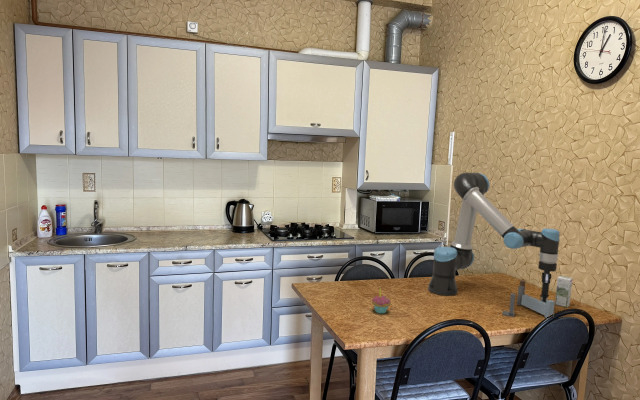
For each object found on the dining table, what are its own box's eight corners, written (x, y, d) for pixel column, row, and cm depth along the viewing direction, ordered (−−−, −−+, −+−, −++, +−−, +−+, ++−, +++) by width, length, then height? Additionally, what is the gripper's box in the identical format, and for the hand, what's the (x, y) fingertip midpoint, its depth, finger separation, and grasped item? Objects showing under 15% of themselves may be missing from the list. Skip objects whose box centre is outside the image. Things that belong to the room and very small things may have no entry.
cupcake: (385, 316, 189) (387, 290, 188) (367, 312, 194) (369, 286, 193) (392, 311, 197) (394, 285, 196) (375, 306, 201) (377, 282, 200)
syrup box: (569, 305, 217) (573, 277, 216) (567, 308, 213) (570, 279, 211) (557, 302, 221) (560, 275, 220) (554, 304, 217) (557, 277, 215)
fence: (517, 303, 217) (519, 285, 216) (518, 296, 228) (520, 279, 227) (523, 304, 216) (524, 286, 215) (524, 297, 227) (525, 280, 226)
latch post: (502, 314, 199) (504, 293, 198) (503, 311, 203) (504, 291, 202) (513, 317, 196) (515, 296, 195) (514, 313, 201) (516, 293, 200)
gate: (515, 303, 215) (517, 286, 214) (520, 303, 216) (522, 285, 215) (547, 318, 196) (549, 299, 195) (553, 318, 196) (555, 299, 196)
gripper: (538, 257, 209) (534, 304, 212) (539, 263, 198) (534, 312, 200) (556, 260, 206) (551, 307, 208) (557, 265, 194) (552, 315, 197)
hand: (543, 309), depth 204 cm, fingers closed
